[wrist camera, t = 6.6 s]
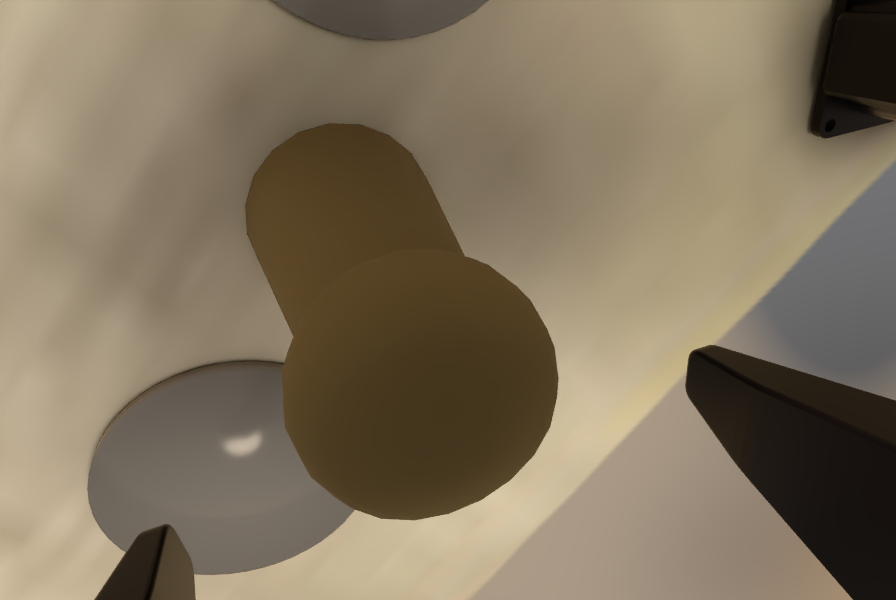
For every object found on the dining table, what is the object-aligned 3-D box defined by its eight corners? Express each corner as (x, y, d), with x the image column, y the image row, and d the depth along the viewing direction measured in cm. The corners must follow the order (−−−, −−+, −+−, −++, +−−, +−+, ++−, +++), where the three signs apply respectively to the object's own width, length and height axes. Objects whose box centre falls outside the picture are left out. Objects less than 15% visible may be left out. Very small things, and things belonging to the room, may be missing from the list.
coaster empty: (340, 327, 21) (343, 336, 20) (389, 510, 26) (393, 521, 25) (35, 413, 18) (30, 425, 18) (156, 594, 24) (154, 607, 23)
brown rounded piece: (303, 329, 20) (364, 618, 11) (204, 177, 17) (173, 413, 8) (456, 251, 21) (636, 468, 11) (390, 88, 17) (568, 212, 8)
